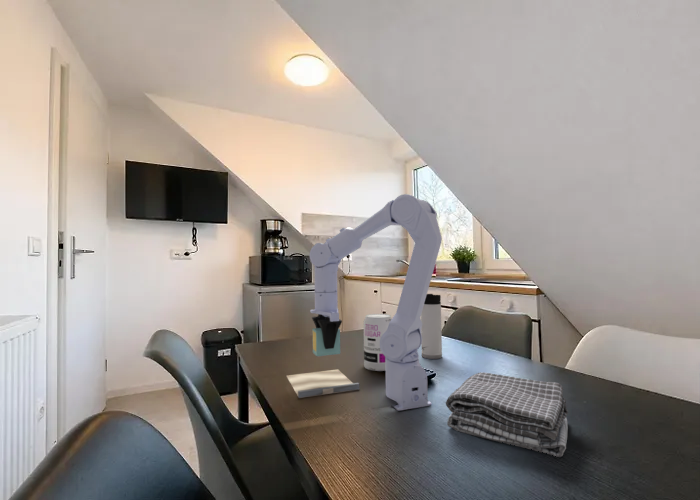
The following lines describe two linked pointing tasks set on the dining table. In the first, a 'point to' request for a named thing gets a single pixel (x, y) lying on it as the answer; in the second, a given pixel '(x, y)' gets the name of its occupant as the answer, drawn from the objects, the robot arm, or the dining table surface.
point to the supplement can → (374, 340)
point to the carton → (319, 344)
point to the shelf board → (321, 383)
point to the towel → (511, 412)
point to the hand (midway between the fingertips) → (326, 346)
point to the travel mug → (431, 327)
